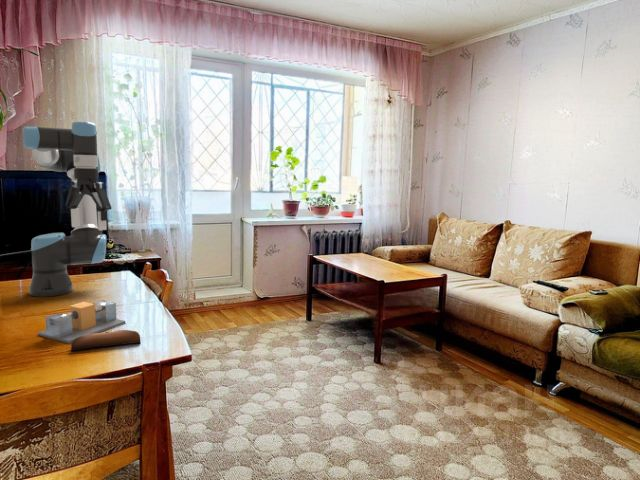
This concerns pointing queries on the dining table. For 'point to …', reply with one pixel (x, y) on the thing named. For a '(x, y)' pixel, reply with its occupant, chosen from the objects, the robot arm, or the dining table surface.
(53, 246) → the robot arm
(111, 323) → the board
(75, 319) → the coupler
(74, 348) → the sunglasses case
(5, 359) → the dining table surface
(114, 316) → the shaft stands
